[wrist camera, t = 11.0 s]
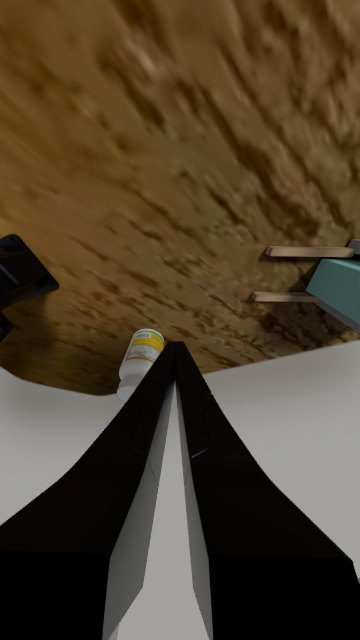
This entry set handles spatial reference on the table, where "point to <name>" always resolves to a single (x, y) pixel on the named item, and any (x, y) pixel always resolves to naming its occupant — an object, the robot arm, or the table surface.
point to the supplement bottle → (138, 360)
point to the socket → (338, 315)
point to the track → (300, 252)
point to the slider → (338, 285)
